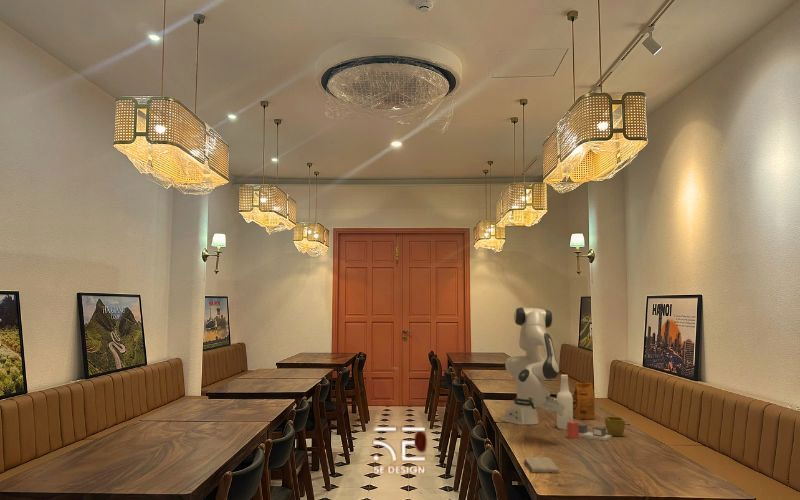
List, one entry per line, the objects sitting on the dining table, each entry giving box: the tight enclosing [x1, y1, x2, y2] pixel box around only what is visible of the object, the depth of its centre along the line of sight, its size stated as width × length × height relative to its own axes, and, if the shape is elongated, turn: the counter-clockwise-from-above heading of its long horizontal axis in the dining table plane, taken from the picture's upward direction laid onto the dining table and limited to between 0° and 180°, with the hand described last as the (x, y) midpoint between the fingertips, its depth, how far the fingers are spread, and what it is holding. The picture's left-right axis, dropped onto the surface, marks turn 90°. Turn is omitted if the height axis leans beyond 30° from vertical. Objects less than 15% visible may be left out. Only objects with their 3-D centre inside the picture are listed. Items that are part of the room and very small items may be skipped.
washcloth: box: [523, 456, 560, 474], centre depth 242 cm, size 12×18×3 cm, turn 0°
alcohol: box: [556, 374, 574, 431], centre depth 318 cm, size 9×9×30 cm
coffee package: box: [572, 381, 596, 421], centre depth 347 cm, size 10×12×22 cm
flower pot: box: [604, 416, 626, 437], centre depth 302 cm, size 9×9×9 cm
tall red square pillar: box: [566, 420, 579, 440], centre depth 296 cm, size 4×4×8 cm
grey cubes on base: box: [578, 422, 613, 442], centre depth 298 cm, size 20×8×6 cm, turn 51°
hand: (556, 413), depth 292 cm, fingers open, 8 cm apart
